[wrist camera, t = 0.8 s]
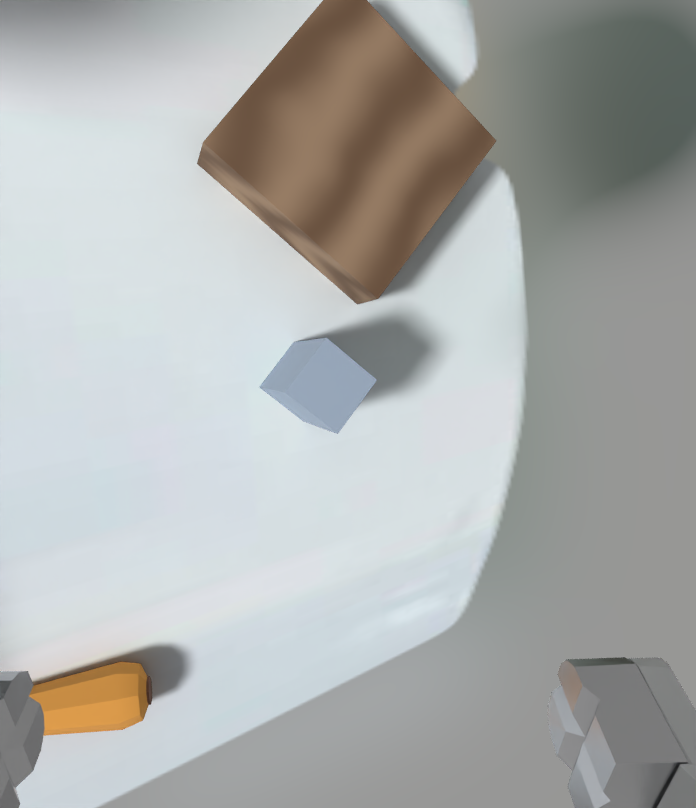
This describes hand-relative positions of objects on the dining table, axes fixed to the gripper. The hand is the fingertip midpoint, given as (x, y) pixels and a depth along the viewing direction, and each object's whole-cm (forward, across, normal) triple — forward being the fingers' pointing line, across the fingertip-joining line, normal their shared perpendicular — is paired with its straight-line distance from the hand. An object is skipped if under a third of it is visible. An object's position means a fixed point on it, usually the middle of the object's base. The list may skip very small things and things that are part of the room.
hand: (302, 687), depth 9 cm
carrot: (+22, +22, +32) cm, 45 cm away
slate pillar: (+37, +1, +14) cm, 39 cm away
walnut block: (+46, -2, -1) cm, 46 cm away
